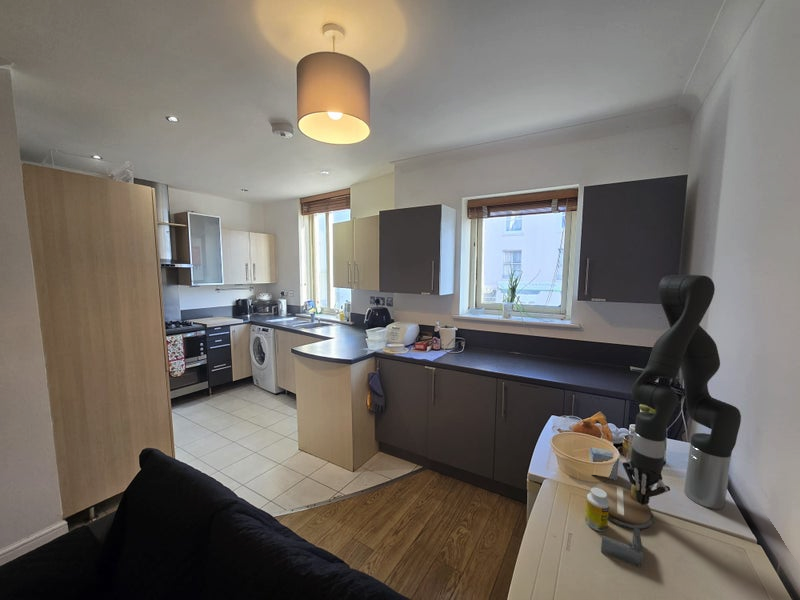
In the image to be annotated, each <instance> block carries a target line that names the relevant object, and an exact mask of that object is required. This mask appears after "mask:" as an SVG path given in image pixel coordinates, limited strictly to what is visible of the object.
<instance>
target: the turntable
mask: <svg viewBox="0 0 800 600" xmlns="http://www.w3.org/2000/svg"><path fill="white" fill-rule="evenodd" d="M592 488H599V489H602V490H603V491H605V492H606V494H607V499H608V501H609V503H610V506H609V516H611V517H613V518H615V519H617V520H619V521H622V522H625V523H628V524H634V525H641V524H646V523H648V522H649V521H650V519H651V513H652V509H651V507H650V506H649V505H648V504H649V503H648V504H645V505H641V504H640V503H639V502H638V501H637V499H636V492H637V489H636V486H635V485H634V484H631V487H630V488H631V489H630V490H629V489H627V488H625V487H623V486H619V485H615V484H611V483H599V484H596V485H595V486H593V487H592Z"/></svg>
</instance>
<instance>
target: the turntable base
mask: <svg viewBox="0 0 800 600" xmlns="http://www.w3.org/2000/svg"><path fill="white" fill-rule="evenodd" d="M589 493H591V491H590V492H589ZM653 519H654V516H653V513H652V512H651V519H650V521H649V522H648V523H646V524H641V525H634V524H628V523H625V522H622V521H619V520H617V519H615V518H613V517H611V516H608V522H610V523H612V524H614V525H616V526H619V527H621V528H623V529H628V530H632V531H633V530H634V528H637V529H639V531H645V530H648V529H649V528H651V527H652V526H653V522H654V521H653Z"/></svg>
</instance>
